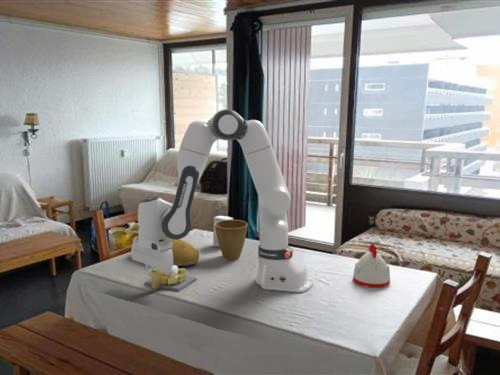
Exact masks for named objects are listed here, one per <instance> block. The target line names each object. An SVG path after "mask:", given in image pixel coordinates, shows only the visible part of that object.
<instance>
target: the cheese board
mask: <svg viewBox="0 0 500 375" xmlns="http://www.w3.org/2000/svg"><path fill="white" fill-rule="evenodd" d="M186 276H187V272H186V268H185V267H181V268H179V267H178V275H176V276H175V274H174V273H173V274H170V276H169V277H168V276H164V271H163V270H161V269H158V268H157V269H156V270H155V271H153V272H151V276H150V279H151V280H152V286H151V289H154V290H157V289H158V288H161V287H160V286H161V285H163V284H165V285H166V284H168V285H169V284H177V283H180V282H182V281H184V280H186Z"/></svg>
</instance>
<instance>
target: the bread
mask: <svg viewBox="0 0 500 375" xmlns="http://www.w3.org/2000/svg"><path fill="white" fill-rule="evenodd" d="M164 236H165V235H164ZM165 237H166V238H167V239H169V240H170V241H171V242H172V243H173V247H172V248H171V250H172V252H173V265H176V266H178V267H182V266H183V267H187V266H191V265H194V264H196V263H197V262H198V261H199V259H200V253H199V251H198V250H197V249H196V247H195V246H193V245H192V244H190V243H188V242H187V241H185V240H183V239H177V240H175V239H170V238H168V237H167V236H165Z"/></svg>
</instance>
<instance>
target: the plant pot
mask: <svg viewBox="0 0 500 375" xmlns="http://www.w3.org/2000/svg"><path fill="white" fill-rule="evenodd" d="M215 229H216V235H217V239H218V243H219V246H220V247H219V250H220V252H221V255H222V257H223V259H225V260H230V261H232V260H233V261H235V260H238V259H239V258H240V257H241V254H242V252H243V248H244V245H245V242H246V238H247V237H246V236H247V232H248V223H247V222H246V221H243V220H240V219H233V220H223V221H219V222H217V223H215Z"/></svg>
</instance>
